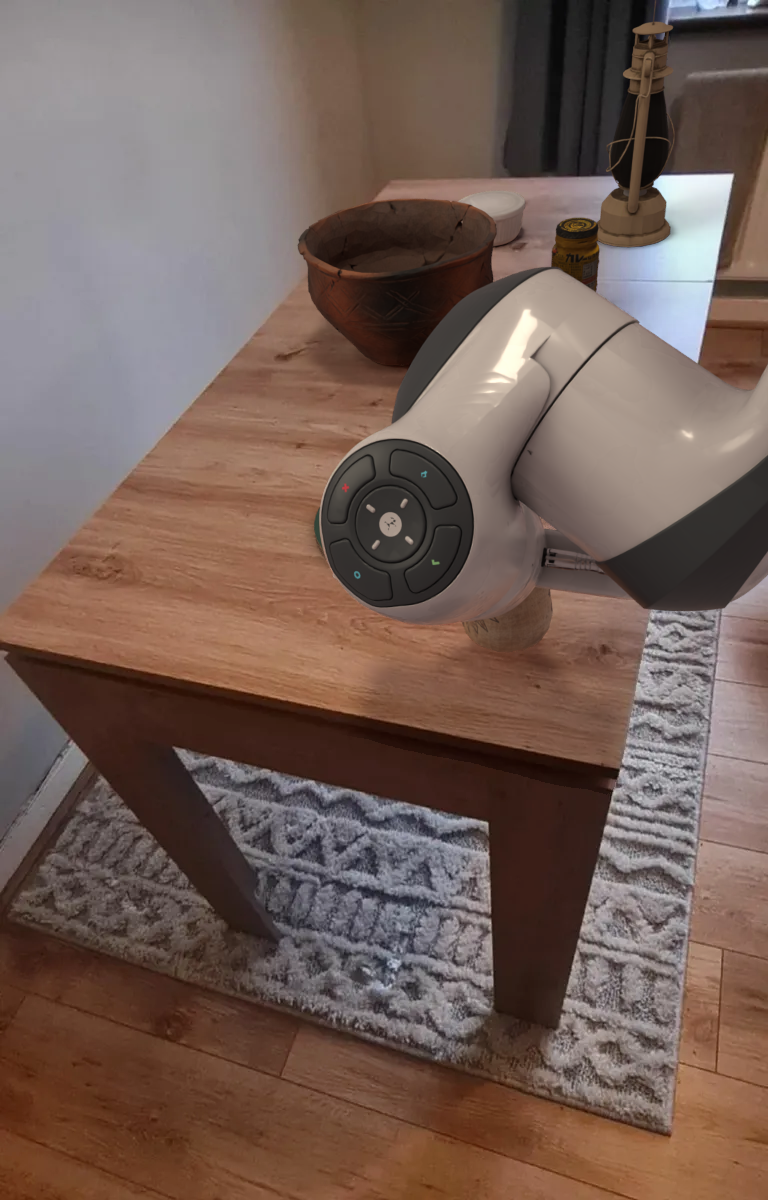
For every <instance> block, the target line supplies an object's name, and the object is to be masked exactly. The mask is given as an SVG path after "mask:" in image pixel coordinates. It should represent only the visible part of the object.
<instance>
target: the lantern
mask: <svg viewBox="0 0 768 1200" xmlns="http://www.w3.org/2000/svg"><path fill="white" fill-rule="evenodd" d="M656 6H657V0H654V7H653V18H652V21H651V22H646V23H643V24H641V25H639V26H637V27H634V28H633V29H632V33H634V34H635V38H634V46H633V49H632V54H631V56H632V58H631V67H629V68H628V69H625V70H624V71H623V73H622V76H623V77H624V78H626V79H630V80H629V87H628V89H627V95H626V98H625V101H624V103H623V106H622V109H621V112H620V115H619V118H618V122H617V125H616V128H615V132H614V136H613V139H612V142H609V143H608V144H606V151H607V153H608V157H609V158H608V159H609V160H608V161H609V166H608V167H607V168H606V169H605V171H606V173H608V172H611V176H612V178H613V180H614V181H615V183H616V184H617V187H616V188H614V189H613V190H612V191H611V192H610V193H609V194H608V195H607V196H606V197H605V199H604V200H603V201H602V202H601V205H600V216H599V219H598V221H596V223H597V224H598V228H599V229H598V233H597V234H598V241H597V242H599V243H601V244H604V245H608V246H613V247H619V248H620V247H621V248H636V247H645V246H650V245H654V244H657V243H659V242H661V241H664V240H665V239H666V238H668V237H669V236H670V235H671V225H670V223H669V221H668V220H667V219H666V212H667V200H666V199H665V197H664V196H663V194H662V192H661V191H660V190H659V189H658V188H657V187H654V185H655V182H656V181H657V180H658V179H659V178H660V176H662V174H663V173H664V170H665V168H666V166H667V163H668V160H669V158H670V155H671V153H672V150H673V148H674V145H675V128H674V124H673V121H672V118H671V117H670V115H669V113H668V112H667V103H666V97H665V91H664V90H665V89H666V86H665V85H664V84H665V78H666V77H668V76H670V75H672V74H673V73H674V69H673V67H671V66H669V65H667V60H668V59H667V58H668V53H669V44H668V42H669V41H668V40H669V33H670V31H672V30H673V28H674V26H673V25H671V24H666V23H665V22H662V21H655V17H656V16H655V15H656ZM661 34H664V36H663V39H660V38H657V36H656V35H661ZM641 35H642V36H643V35H644V36H648V37H647V39H643V40H641V39H640V36H641ZM668 119H669V121H670V124H671V128H672V134H673V138H672V144H671V141H670V139H669V138H670V137H669V123H668ZM609 146H610V147H609ZM608 147H609V149H608Z"/></svg>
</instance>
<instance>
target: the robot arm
mask: <svg viewBox="0 0 768 1200" xmlns="http://www.w3.org/2000/svg"><path fill="white" fill-rule="evenodd" d="M640 323H641V322H640V321H639V320H638V319H637V318H635V317H634V316H632V315H631V314H630V313H628V312H626V311H625V310H623V309H621V307H619V306H617V305H616V304H614V303H613V302H612V301H610V300H609V299H608V298H606V297H604V296H603V295H601V294H600V293H598V292H597V291H596V292H595V291H593V290H592V289H590V288H589V287H587V286H586V285H584V284H583V283H581V282H580V281H578V280H576V279H575V278H573V277H571V276H570V275H568V274H566V273H565V272H564V271H563V270H562V269H560V268H558V267H551V266H542V267H534V268H529V269H526V270H522V271H518V272H515V273H512V274H509V275H507V276H504V277H502V278H500V279H497V280H495V281H493V282H492V283H490V284H488V285H486V286H484V287H482V288H480V289H477V290H476V291H474V292H472V293H470V294H469V295H467V296H466V297H465V298H463V299H462V300H461V301H460V302H458V303H457V304H456V305H455V306H454V307H453V308H452V309H451V310H450V312H449V313H448V314H447V315H446V316H445V317H444V318H443V319H442V321H441V322H440V323H439V324H438V325H437V327H436V328H435V329H434V330H433V332H432V333H431V334H430V336H429V337H428V338H427V340H426V341H425V342H424V344H423V345H422V347H421V348H420V350H419V352H418V353H417V355H416V357H415V358H414V360H413V362H412V363H411V364H409V367H408V369H407V371H406V373H405V375H404V377H403V378H402V381H401V382H400V385H399V387H398V390H397V392H396V397H395V401H394V406H393V412H392V416H391V423H390V425H387V426H385V427H384V428H382V429H380V430H378V431H375V432H373V433H372V434H370V435H369V436H366V437H365V438H363V439H362V440H360V441H359V442H358V443H357V444H355V445H354V446H353V447H352V448H350V450H349V451H348V452H347V453H346V454H345V455H344V456H343V457H342V459H341V460H340V461H339V463H337V465H336V467H334V469H333V471H332V473H331V474H330V476H329V477H328V480H327V482H326V484H325V486H324V490H323V493H322V496H321V500H320V506H319V508H320V514H319V526H320V536H321V542H322V547H323V551H324V552H323V551H322V552H323V554H324V557H325V560H326V563H327V564H328V567H329V569H330V571H331V573H332V578H333V579H334V580H335V581H337V582H338V584H339V585H340V587H341V588H342V589H343V590H344V591H345V592H346V594H348V596H350V597H351V598H352V600H354V601H356V603H358V604H359V605H361V606H362V607H363V608H365V609H367V610H368V611H371V612H372V613H374V614H377V615H379V616H381V617H384V618H386V619H389V620H392V621H395V622H399V623H403V624H408V625H412V626H413V625H414V626H421V627H439V626H447V625H453V624H459V623H462V622H468V621H477V620H484V619H489V618H493V617H497V616H499V615H502V614H504V613H506V612H508V611H510V610H512V609H513V608H515V607H516V606H518V605H519V604H520V603H521V602H522V601H523V600H524V599H525V598H526V597H527V596H528V595H529V594H530V593H531V592H532V590H533V589H534V587H537V588H544V589H550V591H559V592H565V593H573V594H580V595H586V596H587V595H588V596H593V597H600V598H601V597H602V598H608V599H617V600H625V601H635V602H636V603H637V605H639V606H640V607H641V608H642V609H643V610H653V611H663V612H705V611H716V610H723V609H726V608H727V606H728V605H729V604H730V603H732V602H735V601H736V600H738V599H740V598H742V597H743V596H745V595H746V594H748V593H749V592H751V590H753V589H755V588H756V587H757V586H758V585H759V584H760V583H762V581H764V580H765V578H766V577H767V576H768V363H767V365H766V367H765V368H764V370H763V372H762V373H761V376H760V377H759V379H758V381H757V383H756V385H755V387H754V389H746V388H740V387H737V386H734V385H732V384H730V383H728V382H726V381H724V380H723V379H722V378H720V377H718V376H717V375H716V374H714V373H713V372H711V371H710V370H708V369H707V368H705V367H704V366H702V365H701V364H699V363H698V362H696V361H695V360H694V359H692V358H691V357H689V356H688V355H686V354H684V352H682V351H680V350H679V349H678V348H676V347H674V346H673V345H671V344H670V343H668V342H667V341H665V340H664V339H662V338H661V337H659V336H658V335H657V334H655V333H654V332H652V331H650V330H649V329H648V328H646V327H645V326H643V325H642V324H640ZM542 520H543V521H544V522H545V523H547V524H548V525H550V526H551V527H552V528H553V529H552V528H551V529H550V528H544V524H543V521H542Z"/></svg>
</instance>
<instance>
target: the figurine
mask: <svg viewBox="0 0 768 1200" xmlns="http://www.w3.org/2000/svg"><path fill="white" fill-rule="evenodd" d="M553 612H554V611H553V601H552V594H551V589H544V588H537V587H534V589H533V590H532V592H531V593H530V594H529V595H528V596H527V597H526V598H525V599H524V600H523V601H522V602H521V603H520V604H519V605H518V606H516V607H515V608H513V609H512V610H510V611H508V612H506V613H504V614H502V615H499V616H497V617H493V618H489V619H484V620H477V621H468V622H461V624H462V627H463V630H464V633H465V634H466V635H467V637H468V638H470V640H471V641H472V642H473V643H475V644H476V645H478V646H480V647H481V648H484V649H487V650H489V651H494V652H498V653H516V652H522V651H523V652H524V651H525V650H528V649H530V648H533V647H534V646H536V645H537V644H538V643H539V642H540V641H541V640H543V638H544V637H545V635H546V634H547V632H548V631H549V630H550V627H551V622H552V619H553V614H554V613H553Z"/></svg>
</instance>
